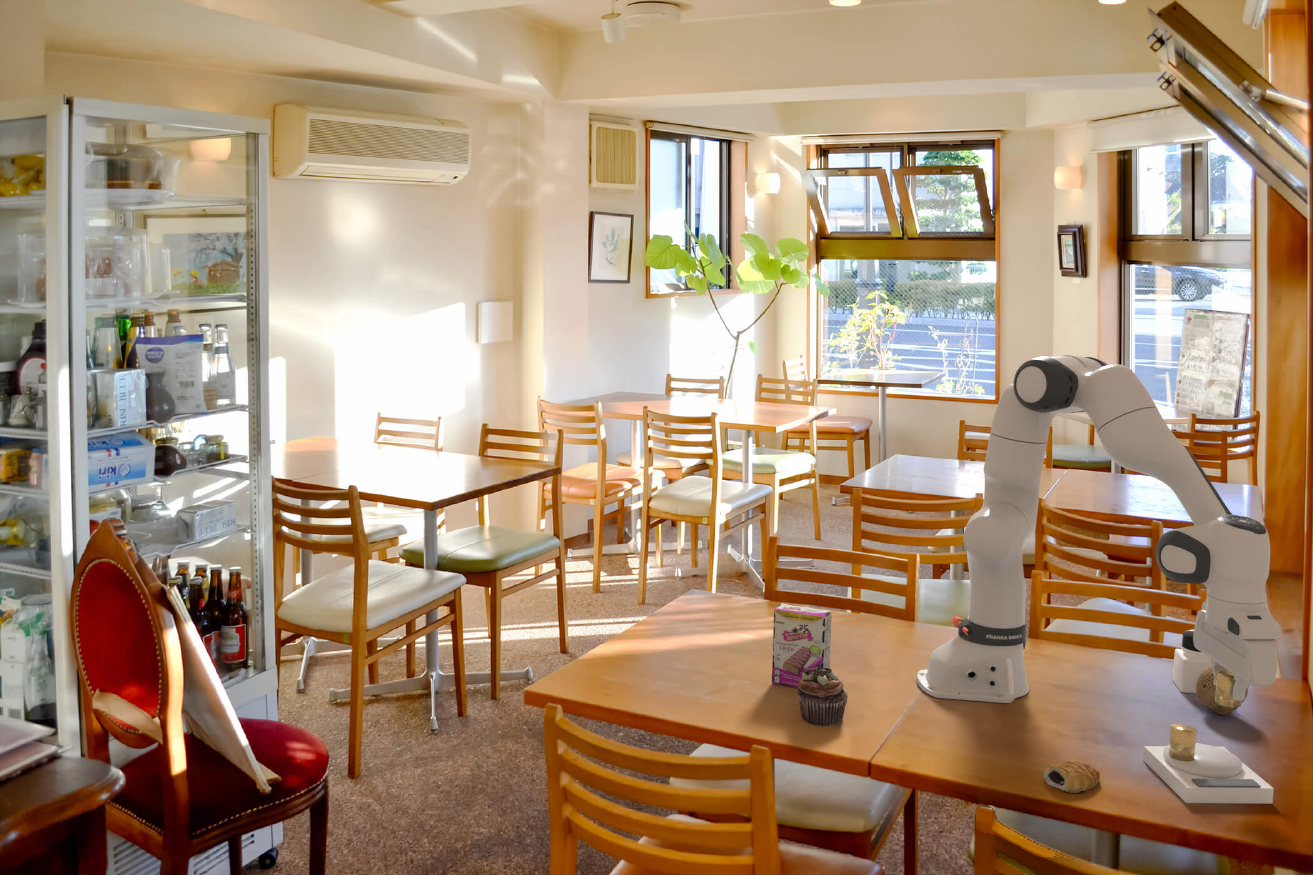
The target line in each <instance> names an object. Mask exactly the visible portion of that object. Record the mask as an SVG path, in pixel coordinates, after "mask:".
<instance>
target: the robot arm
mask: <svg viewBox="0 0 1313 875" xmlns="http://www.w3.org/2000/svg"><path fill="white" fill-rule="evenodd" d="M1074 413H1077V414H1078V413H1086V415H1087V416H1088V417H1089V418H1090V421H1091V423H1092V425H1093V427H1094V429H1095V432H1096V435H1097V436H1098V438H1099V440H1100V443H1101V444H1102V447H1103V448H1104V449H1103V450H1105V451H1106V453H1107V455H1109V457H1110V458H1111V459H1112V461H1113V462H1115V464H1117V465H1119V466H1120V467H1122V468H1124V469H1126V470H1129V471H1132V472H1136V473H1140V474H1143V475H1145V476H1146V475H1147V476H1149V477H1152V478H1154V479H1156V480H1158V481H1160V482H1162V483H1164V484H1165V485H1167V487H1169V489H1171V491H1172V492H1173V494H1175V496H1176V498H1177V499H1178V501H1179V502H1180V503H1181V505H1182V507H1183V508H1184V510H1185V511H1186V513H1187V515H1188V517H1189V519H1190V520H1191V521H1192V523H1193V525H1191V526H1185V527H1179V528H1175V529H1172V530H1168V531H1167V532H1165V533H1164V534H1162V535H1161V537H1160V538H1159V539H1158V541H1157V544H1156V547H1155V559H1156V562H1157V566H1158V569H1160V571H1161V572H1162V574H1163V576H1165V578H1167V579H1169V580H1171V581H1172V582H1174V583H1181V584H1193V585H1195V584H1198V585H1199V584H1200V585H1203V586H1204V587H1206V591H1207V592H1206V599H1205V601H1204V602H1202V605H1201V609H1200V610H1199V611H1197V615H1196V616H1195V617H1196V618H1195V623H1194V629H1193V630H1194V636H1193V642H1194V646H1195V648H1196V649H1198V650H1199V651H1201V652H1202V653H1204V654H1205V655H1207V656H1208V657H1209V658H1211V666H1212V670H1213V674H1214V685H1216V681H1217V672H1218V671H1222V670H1226V669H1227V670H1228V671H1230V672H1231V673H1233V674H1234V680H1236V682H1235V684H1234V687H1230V696H1231V697H1232V698H1233V699H1235V700H1244V699H1245V700H1246V698H1245V691H1246V689H1247V688H1248V689H1249V686H1251V687H1258V688H1259V687H1261V688H1262V687H1271V686H1272V685H1273V684H1274V682H1275V680H1276V677H1277V670H1278V661H1279V660H1278V659H1279V646H1278V643H1277V641H1276V640H1280V639H1282V638H1281V637H1282V630H1283V629H1282V627H1281V625H1280V624H1279V623H1278V622H1277V621H1276V619H1275V618H1274V617H1273V615H1272V614H1271V612H1270V609H1269V608H1267V601H1268V598H1267V596H1268V595H1267V592H1266V584H1267V583H1266V582H1267V580H1268V578H1269V575H1270V564H1271V563H1270V562H1271V542H1270V541H1271V540H1270V537H1269V532H1268V530H1267V527H1266V526H1265V525H1264V524H1262V523H1261V522H1260V521H1258V520H1256V519H1254V518H1251V517H1248V516H1244V515H1238V514H1233V513H1232V512H1231V511H1230V509H1229V508H1228V507H1227V505H1226V503H1225V502H1224V500H1223V499H1222V497H1221V495H1220V494H1219V493H1218V491H1217V489H1216V487H1215V486H1214V485H1213V483H1212V482H1211V480H1210V478H1209V477H1208V476H1207V473H1206V472H1205V471H1204V470H1203V468H1202V466H1201V465H1200V463H1199V462H1198V460H1197V459H1196V458H1195V456H1194V455H1193V454H1192V452H1191V451H1190V450H1189V449H1188V448H1187V447H1186V446H1185V445H1184V444H1183V443H1182V442H1181V441H1180V440H1179V439H1178V438H1177V437H1176V436H1175V435H1174V433H1173V432H1172V431H1171V429H1170V426H1168V425H1167V423H1166V422H1165V420H1164V418H1163V416H1162V415H1161V413H1160V410H1159V409H1158V407H1157V405H1156V403H1155V402H1154V399H1153V397H1152V396H1151V395H1150V393H1149V391H1148V390H1147V388H1146V386H1144V384H1143V382H1142V381H1141V380H1140V378H1139V377H1138V376H1137V375H1136V373H1134V371H1133V369H1131V368H1130V367H1129V366H1126V365H1123V364H1119V363H1118V364H1117V363H1116V364H1108V363H1106V362H1105V361H1103V360H1102V359H1101V360H1100V359H1098V358H1096V357H1093V356H1079V355H1073V354H1072V355H1071V354H1069V355H1067V354H1065V355H1059V356H1058V355H1057V356H1055V355H1054V356H1048V355H1047V356H1045V355H1043V356H1037V357H1035V358H1031V359H1029V360H1027V361H1025V362H1024V363H1022V364H1021V365H1020V366H1019V367H1018V369H1017V370H1016V372H1015V375H1014V378H1013V382H1012V383H1010V384H1008V385H1007V386H1006V387H1005V388H1004V389H1003V391H1002V393H1001V395H1000V398H999V400H998V403H997V406H996V409H995V411H994V415H993V418H992V423H991V427H990V432H989V438H988V442H987V448H986V454H985V460H984V465H983V474H984V491H983V492H984V494H983V503H982V506H981V508H980V509H979V510H978V511H977V512H975V513H973V514H972V515H971V517H970V518H969V520H968V521H967V524H966V525H965V529H964V532H963V543H964V547H965V550H966V556H967V557H966V558H967V566H968V574H969V596H968V597H969V598H968V599H969V604H968V616H967V617H966V618H964V619H962V618H961V617H960V616H959V615H956V616H955V615H954V616H953V618H951V623H952V625H953V626H954V627H955V628H957V629H958V630H957V633H958V634H957V635H955V636H953V637H952V638H951V639H950V640H948V641H946V642H945V643H943V644H942V645H940V646H938V647H937V648H935V649H933V651H932V653H931V655H930V658H929V660H928V661H929V662H928V666H927V668H926V669H920V670H918V672H917V674H916V682H917V685H918V686H919V687H920V689H921V690H922V691H924V693H926V694H928V695H930V696H932V697H933V698H937V699H951V700H963V701H973V702H975V701H976V702H977V701H978V702H986V703H987V702H989V703H998V704H999V703H1001V704H1003V703H1004V704H1011V703H1013V701H1015V699H1017V698H1020V697H1023V696H1026V695H1027V694H1028V693H1029V691H1030V686H1029V684H1028V679H1027V673H1026V666H1025V649H1026V644H1027V637H1028V635H1027V634H1028V633H1027V632H1028V631H1027V622H1025V617H1026V600H1027V584H1026V581H1025V575H1024V574H1025V573H1024V565H1023V564H1024V563H1023V554H1024V553H1023V551H1024V548H1025V546H1026V545H1027V544H1028V543H1029V542H1030V541H1031V539H1033V536H1034V535H1035V532H1036V529H1037V521H1038V520H1037V518H1038V510H1039V502H1040V501H1039V499H1040V484H1041V476H1042V471H1043V467H1044V466H1043V465H1044V460H1045V455H1046V451H1047V445H1048V440H1049V434H1050V429H1051V425H1052V422H1053V420H1054V418H1055V417H1056V416H1058V415H1059V414H1063V415H1064V414H1065V415H1066V414H1074ZM1245 700H1244V701H1245Z"/></svg>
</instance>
